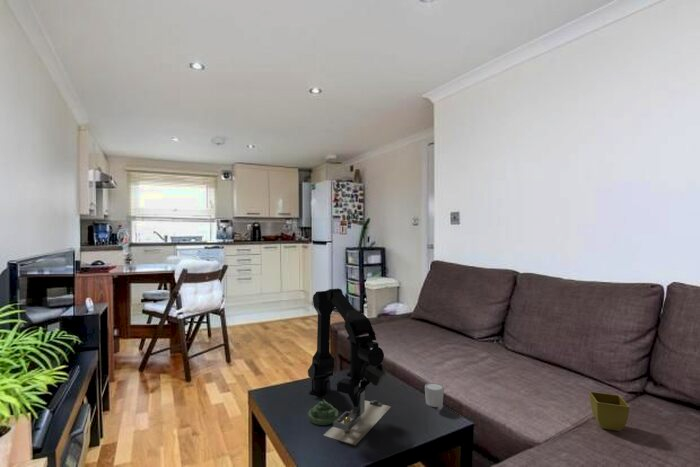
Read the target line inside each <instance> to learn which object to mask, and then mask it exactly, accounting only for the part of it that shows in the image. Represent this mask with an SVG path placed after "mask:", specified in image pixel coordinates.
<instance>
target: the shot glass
mask: <svg viewBox="0 0 700 467" xmlns="http://www.w3.org/2000/svg"><path fill="white" fill-rule="evenodd" d="M444 390H445V386H444V385H442V384H440V383H436V382H428V383H426V384H425V385H424V394H425V404H426V405H428V406H429V407H432V408H433V407H434V408H436V410H437V411H438V410H441V409H443V402H444V393H445V392H444Z"/></svg>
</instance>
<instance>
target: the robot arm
mask: <svg viewBox="0 0 700 467" xmlns="http://www.w3.org/2000/svg"><path fill="white" fill-rule="evenodd" d="M312 303H313V309H315V311H316V313H317V329H316V330H317V332H316V334H317V335H316V340H317V341H316V351H315V353H314V355H313V357H312V362H311V365H310V366H309V368H308V370H307V374H308V375H307V377H309V378H310V379H311V390H309V392H308V393H309V394H311V395H316V396H320V397H324V396H326V395H327V394H328V393H330V392H331V391H332V388H331V379H330V377H333V375H334V373H335V372H334V371H335V366H336V365H335V358H334V357H333V355H332V353H331V350H330V348H331V347H330V346H331V344H330V343H331V315H332V314H333V312H334V310H335V309H336V311H337V312H338V313H339V314H340V316H341V318H342V319H343V320H344V325H343V326H344V329H345V331H346V333H347V335H348V336H346V340H347V341H349V359H347V360H346V363H347V365H349V371H348V372H346V374H347V375H346V376H347V377H349V378H345V377H344V378H342V379H341V380H340V381H338V382H337V383H336V385H335V390H336V392H338V393H343V394H347V395H348V397H349V399H350V400H351V404H352V403H353V405H354V407H358V401H359V393H360V391H361V390H365V392H366V391H367V387H368V386H369V384H372V385H373V386H379V385H380V384H381V383H382V381H383V379H384V377H385V376H386V369H385V365H384V364H382V362H383V361H384V358H385V353H384V350H383V349H382V348H381V347H379V343H378V341H377V342H376V340H377V337H376V332H375V329H374V328H373V325H372V323H371V321H370V319H369V318H368V317H367V316H366V315H365V314H364V313H362V312H361V311H360V312H359V311H357V310H356V309H355V307H354V306H353V305H352V304H351V302H350V301H349V299H348V298H347V297H346V296H345V295H344V292H343V290H342V289H341V288H338V287H337V288H330V289H327V290H322V291H320V290H317V291H315V293H314V294H313V295H312Z"/></svg>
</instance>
